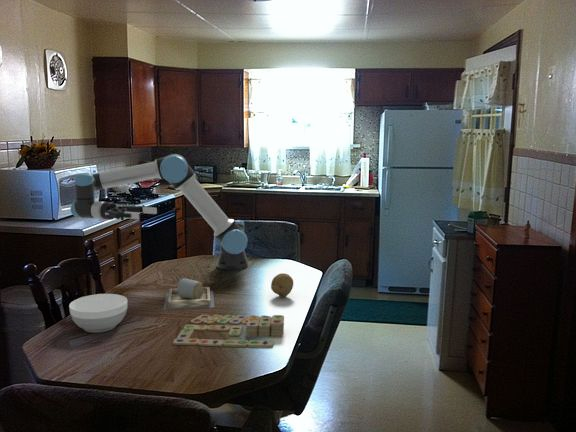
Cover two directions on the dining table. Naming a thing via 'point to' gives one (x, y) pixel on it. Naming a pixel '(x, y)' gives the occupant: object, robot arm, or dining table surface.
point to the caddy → (185, 302)
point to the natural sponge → (282, 284)
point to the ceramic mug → (189, 289)
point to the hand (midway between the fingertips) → (147, 213)
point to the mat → (190, 307)
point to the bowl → (98, 311)
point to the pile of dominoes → (234, 330)
